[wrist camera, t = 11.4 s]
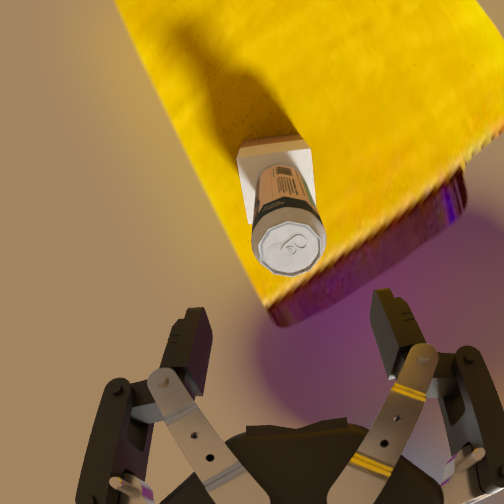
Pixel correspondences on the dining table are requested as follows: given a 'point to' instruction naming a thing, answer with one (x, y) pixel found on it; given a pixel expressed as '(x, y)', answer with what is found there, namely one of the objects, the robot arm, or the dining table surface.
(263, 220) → the beer can
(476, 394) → the robot arm
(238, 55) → the dining table surface
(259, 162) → the tower top
